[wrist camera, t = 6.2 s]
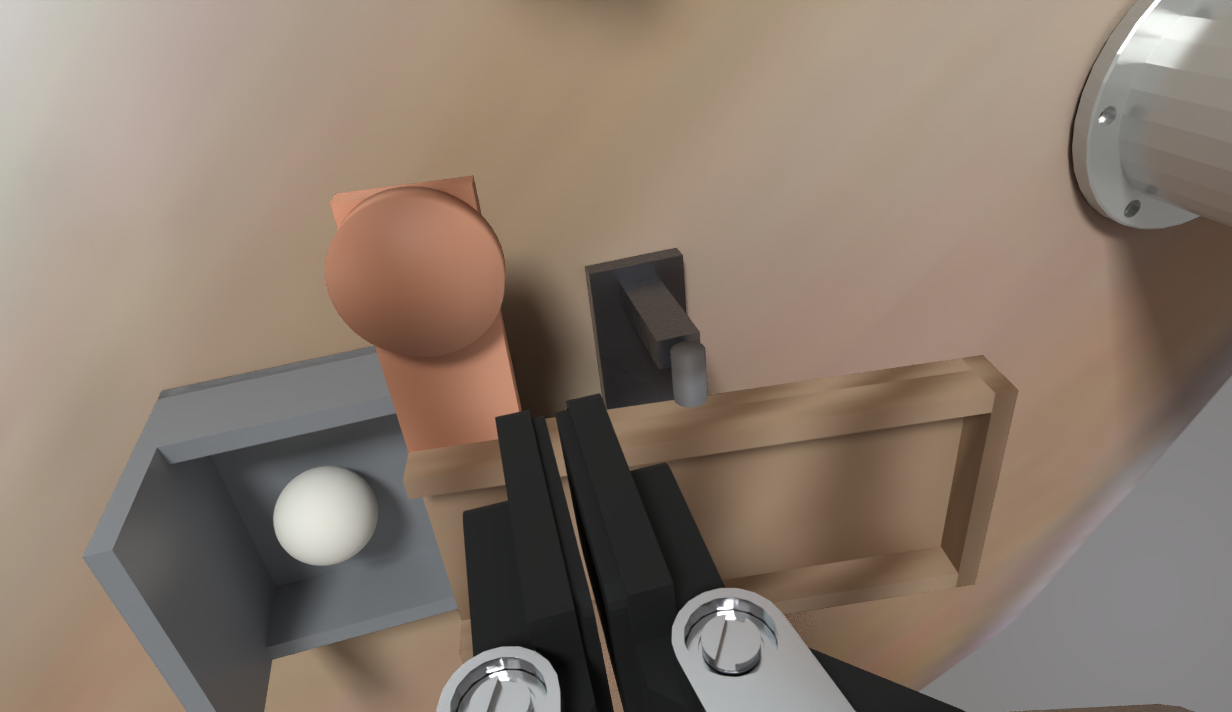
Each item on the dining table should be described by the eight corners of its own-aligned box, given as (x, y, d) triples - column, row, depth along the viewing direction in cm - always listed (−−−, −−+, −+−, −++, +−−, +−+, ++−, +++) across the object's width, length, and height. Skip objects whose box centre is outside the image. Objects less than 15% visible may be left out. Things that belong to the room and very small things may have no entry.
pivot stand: (676, 248, 32) (730, 310, 27) (692, 506, 39) (736, 592, 34) (584, 266, 31) (622, 334, 26) (619, 525, 39) (653, 615, 34)
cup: (460, 327, 31) (483, 460, 23) (509, 530, 37) (540, 687, 29) (161, 390, 29) (82, 556, 21) (265, 593, 35) (232, 778, 28)
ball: (377, 444, 31) (340, 512, 28) (401, 514, 33) (369, 586, 30) (286, 447, 31) (238, 515, 28) (316, 516, 34) (275, 587, 30)
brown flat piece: (1020, 90, 23) (1080, 113, 20) (935, 564, 34) (967, 616, 31) (321, 182, 22) (295, 218, 20) (465, 638, 33) (461, 697, 30)
